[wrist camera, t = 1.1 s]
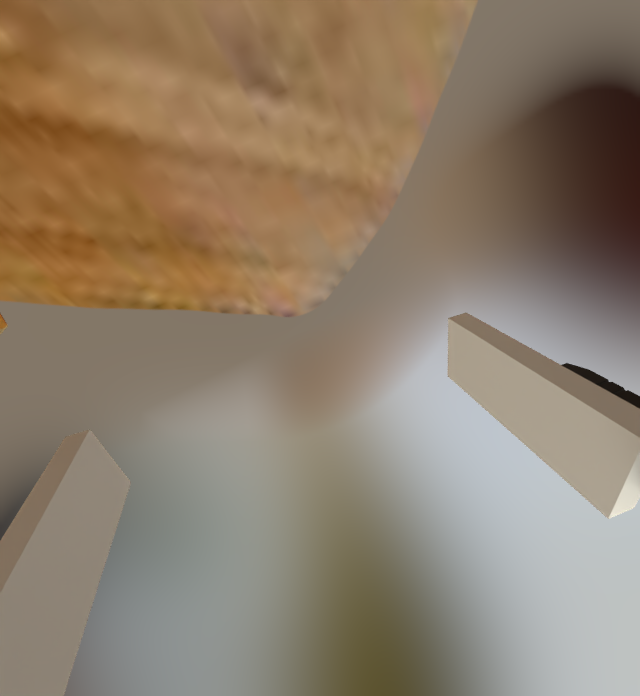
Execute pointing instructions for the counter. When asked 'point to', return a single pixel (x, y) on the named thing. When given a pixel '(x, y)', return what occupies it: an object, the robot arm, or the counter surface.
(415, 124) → the counter surface
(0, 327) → the shoe polish box
